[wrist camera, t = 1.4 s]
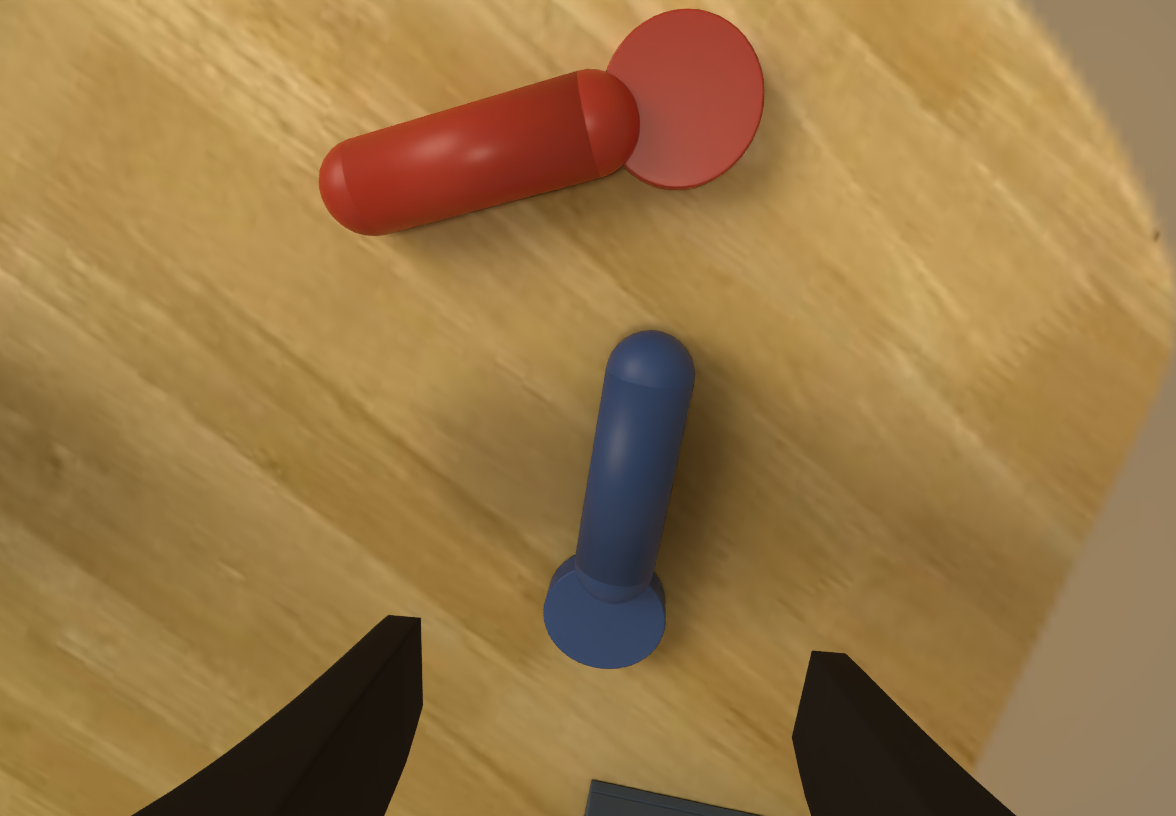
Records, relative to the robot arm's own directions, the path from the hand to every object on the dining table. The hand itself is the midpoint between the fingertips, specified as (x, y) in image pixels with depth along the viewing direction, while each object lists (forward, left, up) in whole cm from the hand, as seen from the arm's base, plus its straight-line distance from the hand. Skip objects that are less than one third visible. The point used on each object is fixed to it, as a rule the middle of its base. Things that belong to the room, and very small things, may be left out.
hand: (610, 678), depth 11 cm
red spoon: (0, -10, -9) cm, 14 cm away
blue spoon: (+1, +2, -9) cm, 10 cm away
